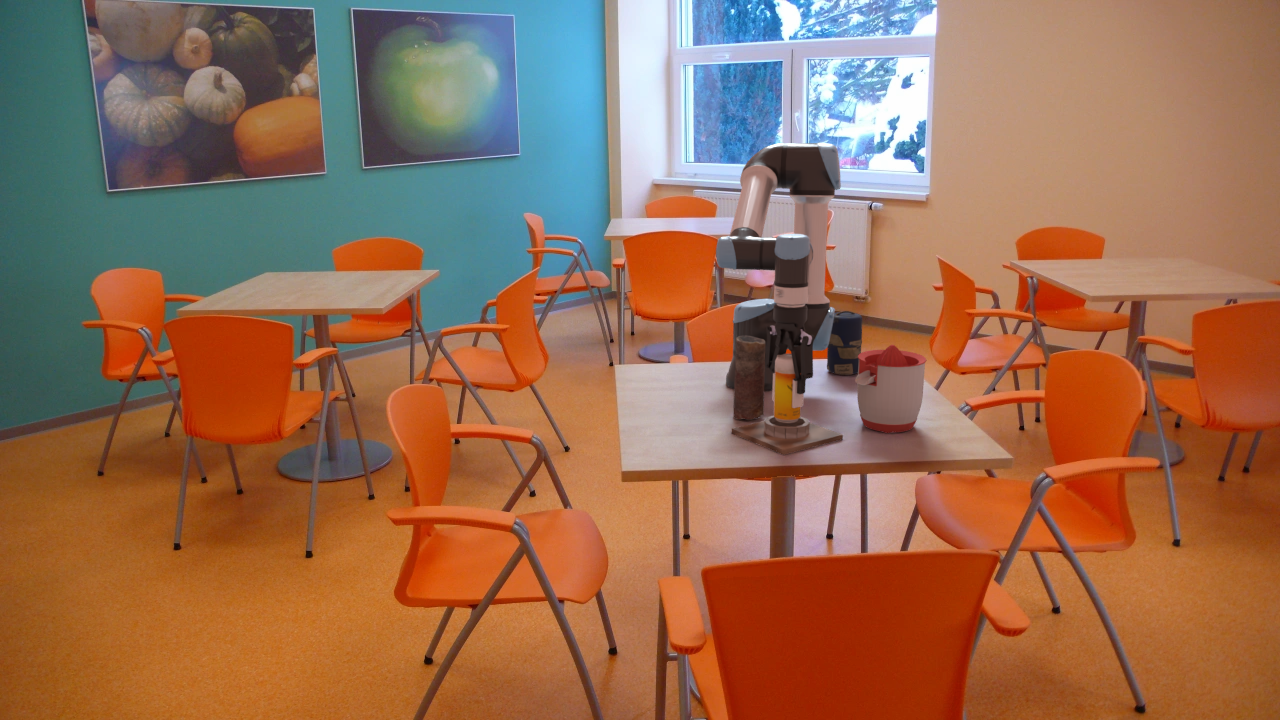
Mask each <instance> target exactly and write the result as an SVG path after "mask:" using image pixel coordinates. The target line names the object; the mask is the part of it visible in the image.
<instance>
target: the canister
mask: <svg viewBox="0 0 1280 720" xmlns="http://www.w3.org/2000/svg"><path fill="white" fill-rule="evenodd" d="M862 338H863V317H862V315H861V314H860V313H858V312H857V313H856V312H853V311H849V310H843V311H839V312H835V313H834V320H833V326H832V331H831V336H830V341H829V345H828V347H827V348H826V351H827V352H826V353H827V354H826V355H827V356H826V357H827V358H826V359H827V360H826V370H827V371H828V372H830V373H832V374H835V375H842V376H849V375H850V376H851V375H855V374H858V366H859V359H858V355H859V354H860V353H862V345H863V344H862V343H863V339H862Z"/></svg>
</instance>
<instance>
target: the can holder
mask: <svg viewBox="0 0 1280 720" xmlns="http://www.w3.org/2000/svg"><path fill="white" fill-rule="evenodd" d="M731 434H732V435H734V436H736V437H740V438H742V439H744V440H746V441H749V442H750V443H753V444H756V445H759V446H761V447H763V448H766V449H768V450H771V451H773V452H776V453H778V454H780V455H783V456H784V455H788V454H791V453H797V452H800V451H804V450H808V449H812V448H815V447H819V446H823V445H827V444H831V443H835V442H838V441H839V442H840V441H842V440H843V439H844V438H843V436H844V435H843V434H842V433H839V432H837V431H834V430H832V429H829V428H826V427H823V426H821V425H818V424H815V423H812V422H810V421H809V420H808V418H807V417H803V416H801V415H800V418H799V419H798V421H796V422H793V423H783V422H779V421H777V420H776V418H775V417H774V415H771V416H767V417H766V418H765V419H764V420H762V421H758V422H754V423H749V424H745V425H741V426H737V427H733V428H731Z"/></svg>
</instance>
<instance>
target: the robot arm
mask: <svg viewBox="0 0 1280 720" xmlns="http://www.w3.org/2000/svg"><path fill="white" fill-rule="evenodd" d="M840 168H841V167H840V157H839V151H838V148H837V147H836V145H834V144H833V143H824V142H823V143H821V142H816V143H815V142H812V143H811V142H807V143H806V142H805V143H801V142H798V143H794V142H791V143H785V142H781V143H779V142H778V143H774V144H771V145H767V146H766V147H763V148H762V149H760V150H759V151H757V152H756V153H755V154H753V155H752V157H750V158H749V160H747V162H746V164H745V165H744V166H743V168H742V172H741V174H740V175H741V176H740V178H739V179H740V180H739V182H740V183H739V184H740V188H741V191H740V195H739V198H738V202H737V205H736V209H735V212H734V213H735V214H734V217H733V221H732V225H731V228H730V229H731V230H730V232H729V233H730V234H729V235H727V236H721V237H719V238H718V239H717V244H716V250H715V252H716V254H715V257H716V263H717V266H718V267H719V268H722V269H729V270H734V271H735V270H747V271H748V270H750V271H751V270H755V271H758V270H759V271H760V270H761V271H774V284H773V285H774V286H773V287H774V290H773V298H758V299H757V298H756V299H752V300H747V301H742V302H740V303H739V304H736V305H735V307H734V309H733V320H732V323H733V325H732V326H733V328H732V329H733V331H732V333H733V335H732V341H733V342H732V343H733V344H732V358H731V362H730V363H729V364H730V365H729V368H728V372H727V373H726V377H725V379H726V380H725V385H726V386H727V387H728V388H730V389H733V390H734V387H735V354H736V338H737V337H738V336H752V337H756V338H760V339H763V340H765V376H764V392H770V391H771V392H772V393H771V394H772V395H771V397H772V398H771V401H773V402H774V382H775V360H776V358H777V355H783V354H787V350H789V351H790V354H791V355H792V360H793V366H794V372H795V377H796V378H794V379H793V391H792V408H797V407H801V408H802V407H804V394H805V393H806V381H807V379H812V378H813V376H814V363H813V362H814V355H813V354H814V352H815V351H819V352H820V351H821V352H822V351H825V350H827V347H828V345H829V341H830V336H831V331H832V326H833V320H834V313H836V309H835V307H833V306H830V303H831V301H830V299H829V298H828V297H827V296H826V295H825V284H826V263H827V260H826V259H827V243H828V242H827V241H828V238H827V237H828V216H829V215H828V214H829V203H830V202H831V201H832V199H834V198H835V193H836V192H835V191H838V190H840V189H841V186H842V183H841V182H842V181H841V169H840ZM777 189H783V190H785V189H786V190H789V197H790V199H792V200H793V202H794V223H793V233H784V234H779V235H777V236H776V237H763V233H764V228H765V224H766V219H767V214H768V210H769V205H770V200H771V196H772V194H773V193H774V192H775V191H776V190H777ZM813 351H814V352H813ZM800 373H801V375H800Z"/></svg>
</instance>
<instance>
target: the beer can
mask: <svg viewBox="0 0 1280 720" xmlns="http://www.w3.org/2000/svg"><path fill="white" fill-rule="evenodd" d="M800 375H801V373H800ZM794 378H796V377H795V372H794V366H793V360H792V355H791V353H786V354H783V355H777V358H776V360H775V382H774V401H773V416H774V417H775V418H776V420H777V421H779V422H783V423H793V422H796V421H798V419H799V418H800V416H801V409H802V407H797V408H792V391H793V379H794Z"/></svg>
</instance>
